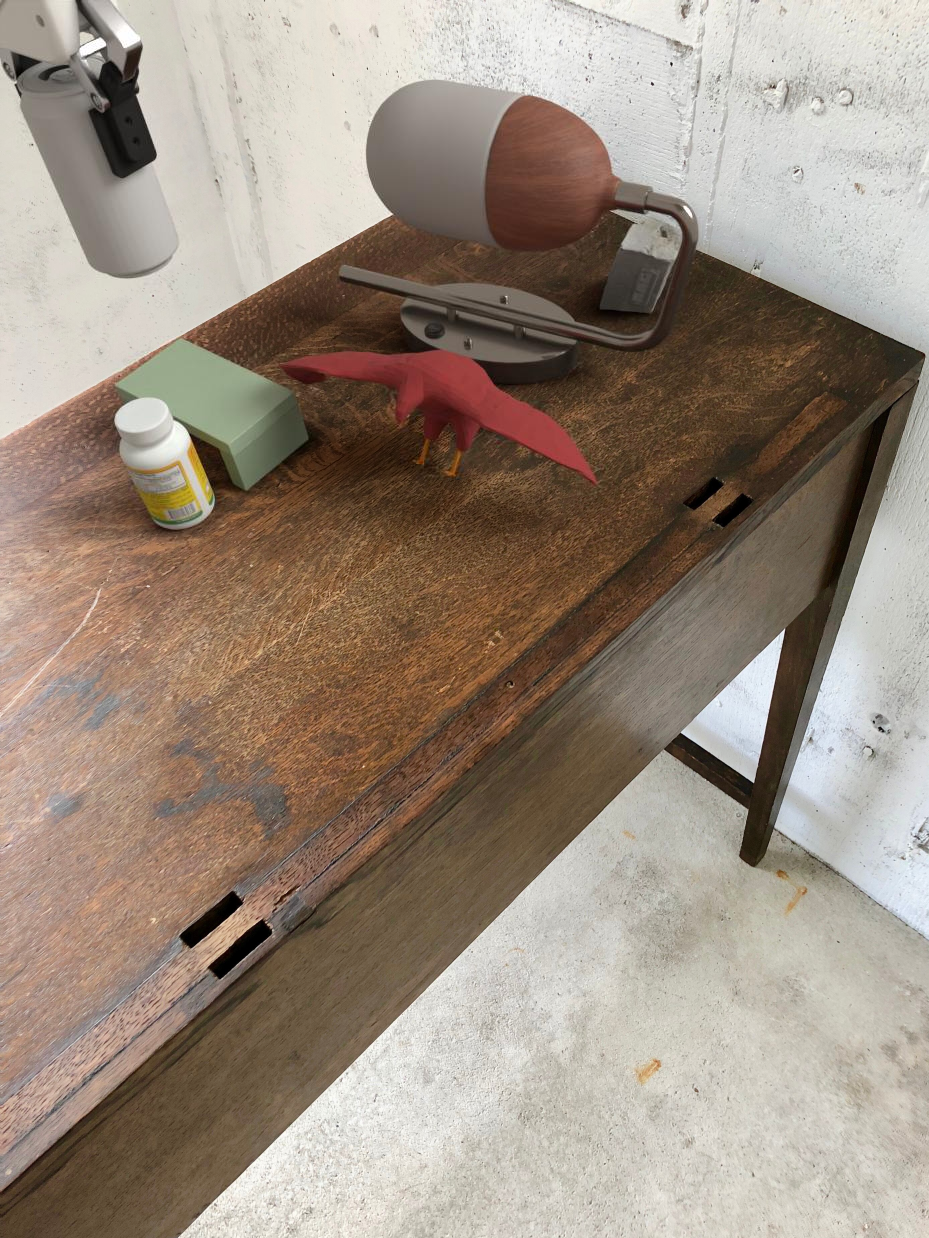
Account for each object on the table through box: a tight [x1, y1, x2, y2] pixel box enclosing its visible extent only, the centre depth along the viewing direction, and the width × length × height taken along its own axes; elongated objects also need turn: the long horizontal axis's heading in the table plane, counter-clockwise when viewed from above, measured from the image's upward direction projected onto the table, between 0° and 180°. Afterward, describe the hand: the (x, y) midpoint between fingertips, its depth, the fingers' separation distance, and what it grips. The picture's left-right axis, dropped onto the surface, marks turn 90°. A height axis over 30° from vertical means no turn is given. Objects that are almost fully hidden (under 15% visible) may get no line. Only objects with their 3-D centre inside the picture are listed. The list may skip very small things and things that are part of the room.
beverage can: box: [16, 54, 180, 279], centre depth 62 cm, size 6×6×12 cm
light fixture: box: [338, 79, 700, 385], centre depth 79 cm, size 11×22×34 cm
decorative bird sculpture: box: [278, 350, 599, 487], centre depth 76 cm, size 28×9×15 cm
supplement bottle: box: [113, 398, 216, 531], centre depth 74 cm, size 5×5×10 cm
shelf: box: [113, 337, 310, 492], centre depth 81 cm, size 14×8×5 cm, turn 54°
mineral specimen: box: [599, 215, 682, 314], centre depth 87 cm, size 7×9×8 cm
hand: (99, 151), depth 62 cm, fingers closed on beverage can, 6 cm apart
